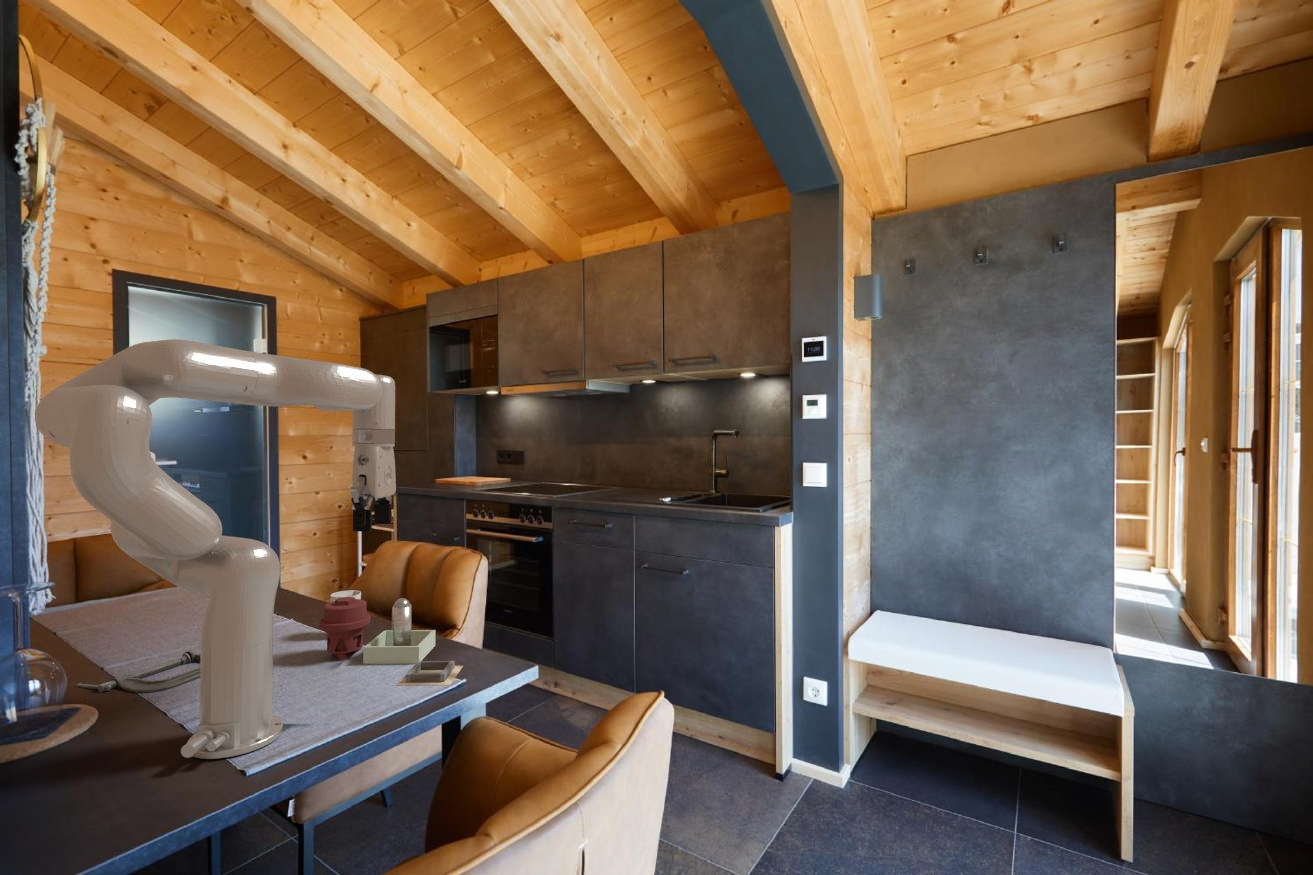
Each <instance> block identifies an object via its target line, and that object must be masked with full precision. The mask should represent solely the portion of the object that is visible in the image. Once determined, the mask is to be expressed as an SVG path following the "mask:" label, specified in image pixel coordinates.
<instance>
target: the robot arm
mask: <svg viewBox="0 0 1313 875" xmlns="http://www.w3.org/2000/svg"><path fill="white" fill-rule="evenodd" d="M164 398H165V399H166V398H169V399H170V398H173V399H174V398H176V399H189V400H198V401H208V402H218V403H227V404H228V403H229V404H238V405H248V406H256V407H292V406H293V407H295V406H313V407H314V408H316V409H318V410H321V411H325V412H352V413H351V416H352V417H351V418H352V420H351V422H352V423H351V424H352V425H351V426H352V427H351V428H352V429H351V437H352V438H351V442H352V443H351V446H352V447H354V451H353V461H352V462H353V463H352V476H351V478H352V479H351V482H352V483H351V484H352V485H351V487H350V494H351V499H350V500H351V503H352V507H351V509H352V531H353V532H371V531H372V529H373V527H372V525H373V523H374V525H390V524H392V503H393V498H392V496H393V495H394V494H395V493H396V491H397V483H396V482H397V480H396V475H397V474H396V459H395V451H394V447H395V443H396V442H395V441H396V436H395V435H396V433H395V431H396V382H395V380H394V379H393V377H391V376H388V375H383V374H375V373H374V372H372V371H370V369H368V368H367V369H366V368H362V367H360V366H359V367H357V366H352V365H347V364H341V363H335V362H329V361H328V362H327V361H321V360H312V359H303V358H297V357H291V356H286V355H285V356H284V355H279V354H278V355H277V354H271V353H270V354H269V353H262V352H257V351H256V352H255V351H250V350H243V349H238V348H232V347H227V346H221V345H218V344H217V345H216V344H209V343H204V342H199V341H193V340H189V339H187V340H186V339H175V338H174V339H173V338H172V339H171V338H170V339H162V340H153V341H143V342H139V343H135V344H133V345H130V346H128V347H126V348H124V349H123V350H121V351H119V352H117V353H115V354H114V355H112V356H110V357H108V358H107V359H105V360H103V361H102V362H100V363H98V364H96V365H94V366H92V367H91V368H89V369H87V370H86V371H84V372H82V373H80V374H79V375H76V376H74V377H73V378H71V379H70V380H68V381H65V382H64V383H62V384H61V385H59V386H57V387H55V388H54V389H52V390H50V392H48V393H47V394H46V395H44V397H43V398H42V399H40V401H39V403H38V404H37V406H36V408H35V411H34V422H35V426H36V428H37V429H38V431H39V432H40V433H41V435H42V436H43V437H44V438H46V439H47V440H48V441H50V442H51V443H54V444H56V445H59V446H62V447H66V448H70V449H69V465H70V474H71V475H70V476H71V479H72V482H73V484H74V487H75V488H76V490H77V492H78V493H79V494H80V496H81V497H82V498H83V499H84V500H85V502H86V503H87V504H89V505H90V506H92V507H93V508H94V509H95V510H96V511H98V512H99V513H101V515H103V516H105V517H106V518H108V519H109V520H110V534H111V537H112V539H113V541H114V543H115V544H116V545H117V547H118V548H119V549H120V550H121V551H122V552H123V553H125V554H126V555H127V556H129V557H130V558H131V559H133V560H135V561H136V562H137V563H140V564H141V565H143V566H145V567H146V568H147V569H149V570H150V571H152V572H154V573H155V574H156V575H158V576H160V577H161V578H162V579H165V580H166V581H167V582H170V583H171V584H173V585H174V586H176V587H178V588H180V589H181V590H184V591H186V592H190V593H193V594H198V595H200V596H201V595H202V596H207V597H209V598H208V603H207V607H206V608H205V612H204V614H203V617H202V620H201V625H200V634H199V636H200V638H199V648H200V663H199V664H200V666H199V667H200V678H199V724H197V732H195V733H194V734H192V736H190V738H188V740H187V741H186V744H184V745H183V746H181V748H180V754H181V756H182V757H184V758H187V759H189V758H196V759H197V758H198V759H204V760H205V759H206V760H216V759H217V760H218V759H225V758H231V757H237V756H240V755H244V754H249V753H251V752H253V751H257V750H259V749H261V748H263V747H265V746H268V745H269V744H271V743H272V742H274V741H276V740H277V739H278V738H279V737H280V736H281V735H282V734H283V731H284V722H283V720H282V719H281V718H279V717H277V716H275V715H273V703H274V702H273V698H274V697H273V695H274V692H273V691H274V687H273V685H274V679H273V678H274V676H273V674H274V672H273V671H274V614H275V613H274V611H275V602H276V596H277V590H278V588H279V583H280V576H281V563H280V559H279V556H278V554H277V553H276V551H274V549H273V548H272V547H271V546H269V545H268V544H266V543H265V542H261V541H259V540H256V539H253V538H247V537H246V538H245V537H239V536H238V537H237V536H228V535H222V534H223V525H222V522H221V519H220V518H219V516H218V514H217V513H216V512H215V511H214V509H213V508H211V507H210V506H209V505H208V504H207V503H205V502H204V501H202V500H201V499H199V498H198V497H196V495H194V494H193V493H191V492H190V491H189V490H188V489H186V488H185V487H184V486H182V485H181V484H180V483H178V482H177V481H176V480H175V479H173V478H172V477H171V476H170V475H169V474H167V473H166V472H165V470H163V469H162V468H161V467H160V466H158V464H157V463H156V462H155V461H154V459H153V457H152V455H151V454H152V453H151V451H150V436H151V431H152V426H153V414H152V410H151V407H150V406H151V405H152V404H154V403H155V402H157V401H158V400H159V399H164ZM373 498H374V499H375V503H374V504H373V506H374V507H373V509H374V511H373V509H370V508H371V506H372V503H373ZM372 514H374V515H373V516H372ZM372 522H373V523H372Z"/></svg>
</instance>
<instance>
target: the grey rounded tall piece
mask: <svg viewBox="0 0 1313 875" xmlns="http://www.w3.org/2000/svg"><path fill="white" fill-rule="evenodd" d="M391 609H392V610H391V630H392V646H413V645H412V644H411V630H412V604H411V603H410V601H409V600H408V599H407V598H405V597H400V598H398V599H396V601H395V602H394V604H393V605H392V608H391Z"/></svg>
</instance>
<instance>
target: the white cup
mask: <svg viewBox="0 0 1313 875" xmlns="http://www.w3.org/2000/svg"><path fill="white" fill-rule="evenodd" d="M342 597H354V598H355V599H361V600H362V598H361V597H362V592H361V590H354V589H353V590H352V589H349V590H341V591H336V592H333V593H331V594H330V602H333V601H335V600H336V599H338V598H342Z"/></svg>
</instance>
